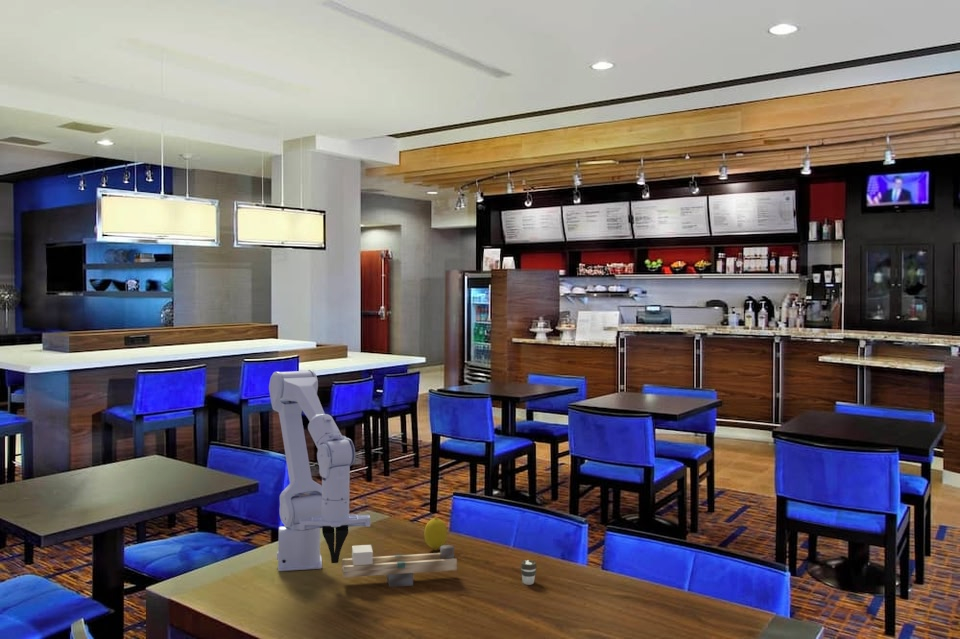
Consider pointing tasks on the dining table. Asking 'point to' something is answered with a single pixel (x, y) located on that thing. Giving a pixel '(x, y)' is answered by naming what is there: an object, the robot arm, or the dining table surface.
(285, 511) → the robot arm
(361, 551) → the rider
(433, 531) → the lemon
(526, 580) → the coffee cup
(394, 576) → the beam
